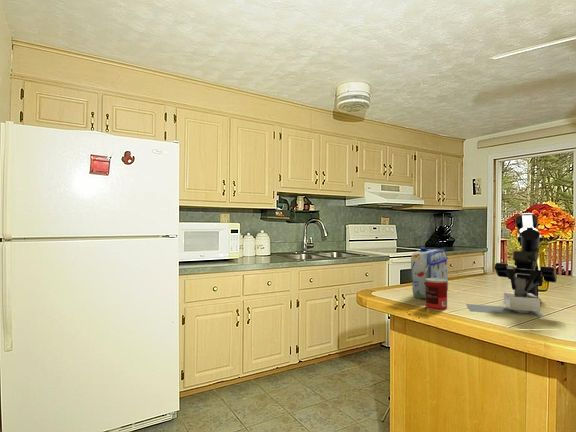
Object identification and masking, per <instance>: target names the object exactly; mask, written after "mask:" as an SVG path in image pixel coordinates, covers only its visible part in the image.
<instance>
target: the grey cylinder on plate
mask: <svg viewBox="0 0 576 432" xmlns="http://www.w3.org/2000/svg"><path fill="white" fill-rule="evenodd" d="M526 286H527V279H526V278H514V290H513V291H514V292H512V291H503V304H504V305H505V307H508V308H509V309H512V310H526V311H538V312H541V301H540V299H541V298H540V297H539V296H538V297H537V296H535V295H533V294H532V293H528V292H526Z"/></svg>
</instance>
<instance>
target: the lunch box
mask: <svg viewBox="0 0 576 432" xmlns="http://www.w3.org/2000/svg"><path fill="white" fill-rule="evenodd" d="M410 263H411V264H410V265H411V266H410V269H411V283H412V287H411V289H412V290H411V291H412V296H413V297H414V298H419V299H424V300H426V296H425V280H426V278H441V279H446V280H447V292H448V290H449V276H448V275H449V273H448V272H449V270H448V256H447V252H446V250H445V249H442V248H441V249H436V248H425V247H422V246H421V247H420V250H417V251H415V252H413V253H412V255H411V258H410Z"/></svg>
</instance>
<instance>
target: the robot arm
mask: <svg viewBox="0 0 576 432" xmlns="http://www.w3.org/2000/svg"><path fill="white" fill-rule="evenodd" d="M514 221H515V223H514V224H515V225H514V226H515V228H516V229H517V237H516V238H517V243H519V246H521V249H520V250H514V251H513V257H512V260H513V261H514V262H513V264H514V265H509V264H508V263H507V262H506V263H505V262H495V264H494V270H495V273H496V274H497V276H498V277H500V278H507V279H508V280H510V284H511V289H512V290H513V291H514V278H526V279H527V286H526V292H528V293H532V294H533V295H535V296H537V297H538V298H539V287H543V283H544V281H545V282H547V283H556V282H557V279H558V275H557V272H556V268H555V267H554V266H544V265H543V266H542V265H541V266H540V269H539V265H538V263H537V262H538V257H539V253H540V248H539V247H540V244H541V243H542V242H543V241H544V237H543V236H542V235H541V234H540V232H539V230H538V229H537V228H538V227H539V226H538V225H539V222H538V221H539V220H538V216H536V215H534V213H531V212H528V213H527V212H526V213H525V212H524V213H523V212H522V213H520V214H519V215H518V216H515V220H514ZM515 266H516V267H515ZM540 302H542V299H541V298H540Z"/></svg>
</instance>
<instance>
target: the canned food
mask: <svg viewBox="0 0 576 432" xmlns="http://www.w3.org/2000/svg"><path fill="white" fill-rule="evenodd" d="M425 296H426V299H425V307H426V308H425V309H430V310H440V311H441V310H442V311H444V310H446V309H448V291H447V280H446V279H441V278H426V280H425Z"/></svg>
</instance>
